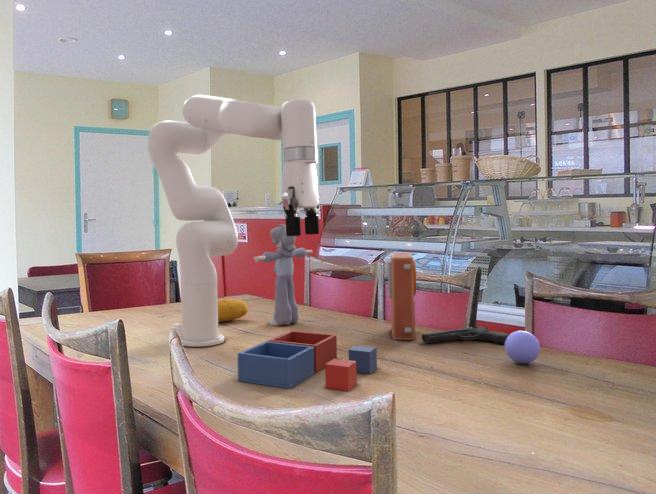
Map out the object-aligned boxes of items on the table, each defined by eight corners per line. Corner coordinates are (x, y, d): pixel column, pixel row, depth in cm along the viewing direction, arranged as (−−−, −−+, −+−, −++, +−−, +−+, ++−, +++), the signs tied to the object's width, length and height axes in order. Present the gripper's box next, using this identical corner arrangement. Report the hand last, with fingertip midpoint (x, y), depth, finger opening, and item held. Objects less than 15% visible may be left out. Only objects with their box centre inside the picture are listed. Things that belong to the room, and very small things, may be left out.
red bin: (267, 365, 127) (267, 340, 127) (291, 353, 137) (290, 330, 137) (316, 372, 121) (315, 345, 121) (337, 359, 131) (336, 334, 131)
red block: (325, 387, 110) (325, 364, 110) (334, 381, 114) (334, 358, 114) (348, 391, 108) (347, 366, 108) (356, 384, 112) (356, 361, 112)
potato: (202, 320, 181) (202, 299, 181) (244, 317, 185) (244, 296, 185) (208, 325, 174) (208, 302, 173) (252, 321, 178) (251, 299, 178)
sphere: (505, 366, 123) (505, 333, 123) (503, 358, 129) (503, 327, 129) (542, 368, 120) (541, 335, 120) (538, 360, 127) (538, 328, 127)
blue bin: (238, 380, 116) (237, 353, 116) (265, 366, 126) (265, 341, 126) (289, 388, 110) (289, 359, 110) (314, 373, 120) (314, 346, 120)
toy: (299, 314, 188) (297, 222, 188) (320, 316, 184) (319, 222, 183) (244, 330, 164) (242, 225, 164) (267, 334, 159) (265, 225, 159)
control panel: (413, 329, 162) (417, 341, 147) (388, 328, 163) (389, 340, 148) (412, 253, 161) (416, 257, 147) (387, 253, 163) (388, 257, 148)
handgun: (453, 355, 136) (419, 342, 147) (515, 344, 143) (478, 333, 154) (453, 343, 135) (419, 331, 146) (515, 333, 143) (478, 322, 154)
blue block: (348, 371, 121) (348, 349, 121) (356, 366, 125) (356, 345, 125) (370, 374, 119) (369, 352, 119) (377, 368, 123) (376, 347, 123)
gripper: (300, 161, 136) (303, 234, 136) (266, 155, 121) (269, 237, 121) (330, 158, 133) (333, 233, 132) (298, 152, 117) (302, 236, 117)
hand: (303, 235), depth 127 cm, fingers open, 9 cm apart
